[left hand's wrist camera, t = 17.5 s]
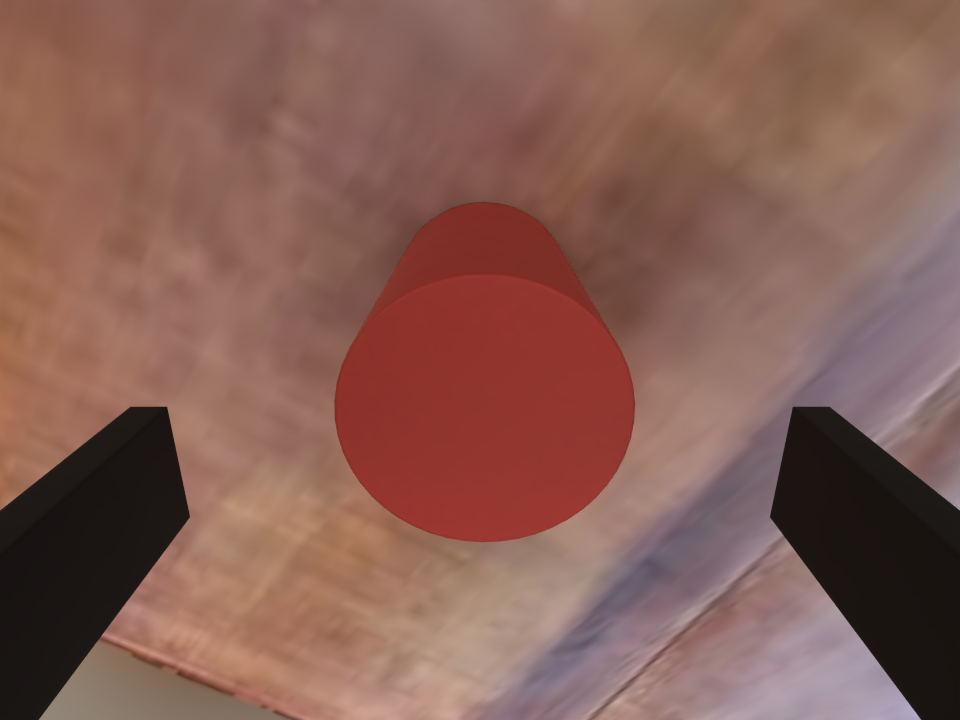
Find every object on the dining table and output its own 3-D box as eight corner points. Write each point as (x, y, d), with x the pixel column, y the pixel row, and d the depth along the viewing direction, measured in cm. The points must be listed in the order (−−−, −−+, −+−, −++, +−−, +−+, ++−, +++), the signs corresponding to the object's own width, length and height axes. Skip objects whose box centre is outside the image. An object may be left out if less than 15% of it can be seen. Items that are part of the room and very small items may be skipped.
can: (407, 190, 23) (342, 251, 13) (584, 215, 24) (669, 297, 13) (392, 356, 26) (326, 526, 15) (551, 376, 26) (599, 557, 15)
